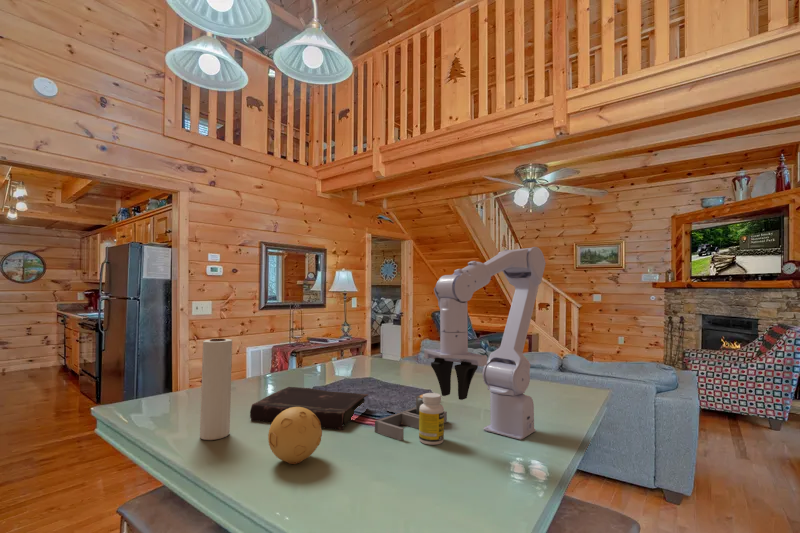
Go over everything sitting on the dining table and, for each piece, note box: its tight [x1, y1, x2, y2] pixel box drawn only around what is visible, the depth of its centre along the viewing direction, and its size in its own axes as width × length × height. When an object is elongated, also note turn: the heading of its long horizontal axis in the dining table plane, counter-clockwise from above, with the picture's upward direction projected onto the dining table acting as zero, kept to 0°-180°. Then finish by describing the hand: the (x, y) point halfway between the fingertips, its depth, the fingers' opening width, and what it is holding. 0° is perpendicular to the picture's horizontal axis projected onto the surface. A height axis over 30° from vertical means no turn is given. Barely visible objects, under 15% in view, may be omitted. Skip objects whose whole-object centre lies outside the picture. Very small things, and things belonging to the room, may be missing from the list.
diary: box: [249, 386, 369, 431], centre depth 105 cm, size 19×25×5 cm
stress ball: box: [267, 407, 323, 465], centre depth 76 cm, size 10×10×10 cm
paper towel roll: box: [199, 338, 233, 441], centre depth 90 cm, size 7×6×21 cm
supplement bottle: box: [418, 392, 445, 446], centre depth 87 cm, size 5×5×10 cm
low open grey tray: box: [374, 394, 448, 442], centre depth 99 cm, size 17×17×6 cm
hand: (454, 396), depth 83 cm, fingers open, 4 cm apart
